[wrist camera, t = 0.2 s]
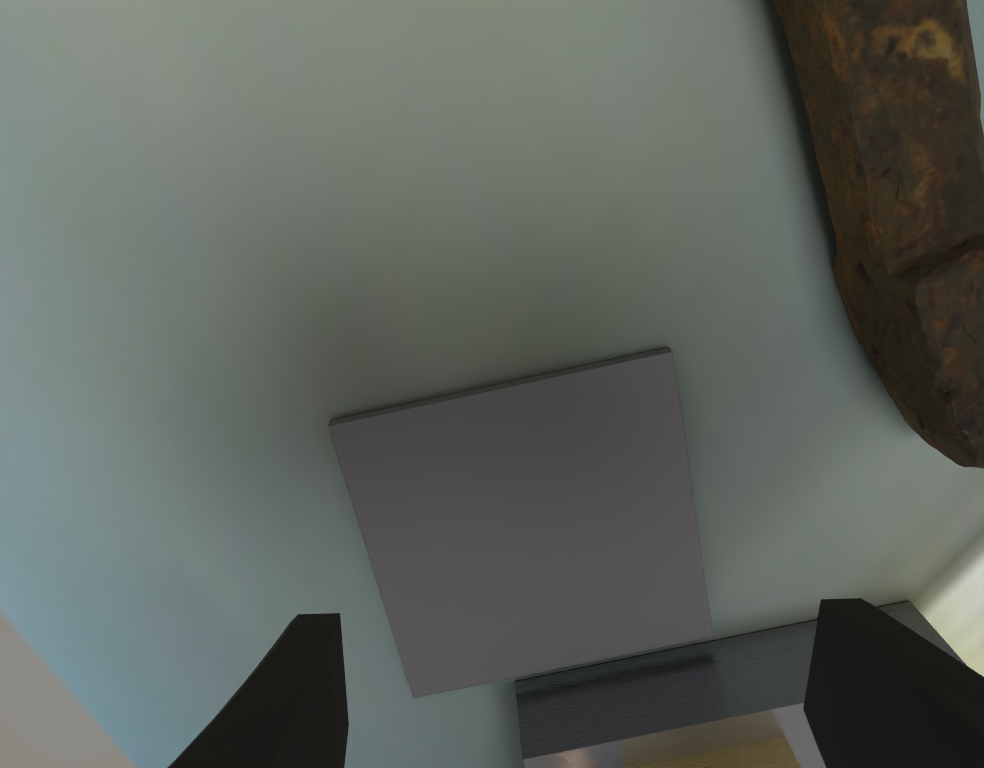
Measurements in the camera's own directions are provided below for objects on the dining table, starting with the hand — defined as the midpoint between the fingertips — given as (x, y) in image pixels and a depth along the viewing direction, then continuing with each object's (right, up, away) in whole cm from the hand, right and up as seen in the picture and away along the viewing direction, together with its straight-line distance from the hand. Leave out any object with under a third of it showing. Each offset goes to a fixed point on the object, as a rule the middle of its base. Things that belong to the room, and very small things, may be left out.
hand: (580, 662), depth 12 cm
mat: (0, 0, +11) cm, 11 cm away
